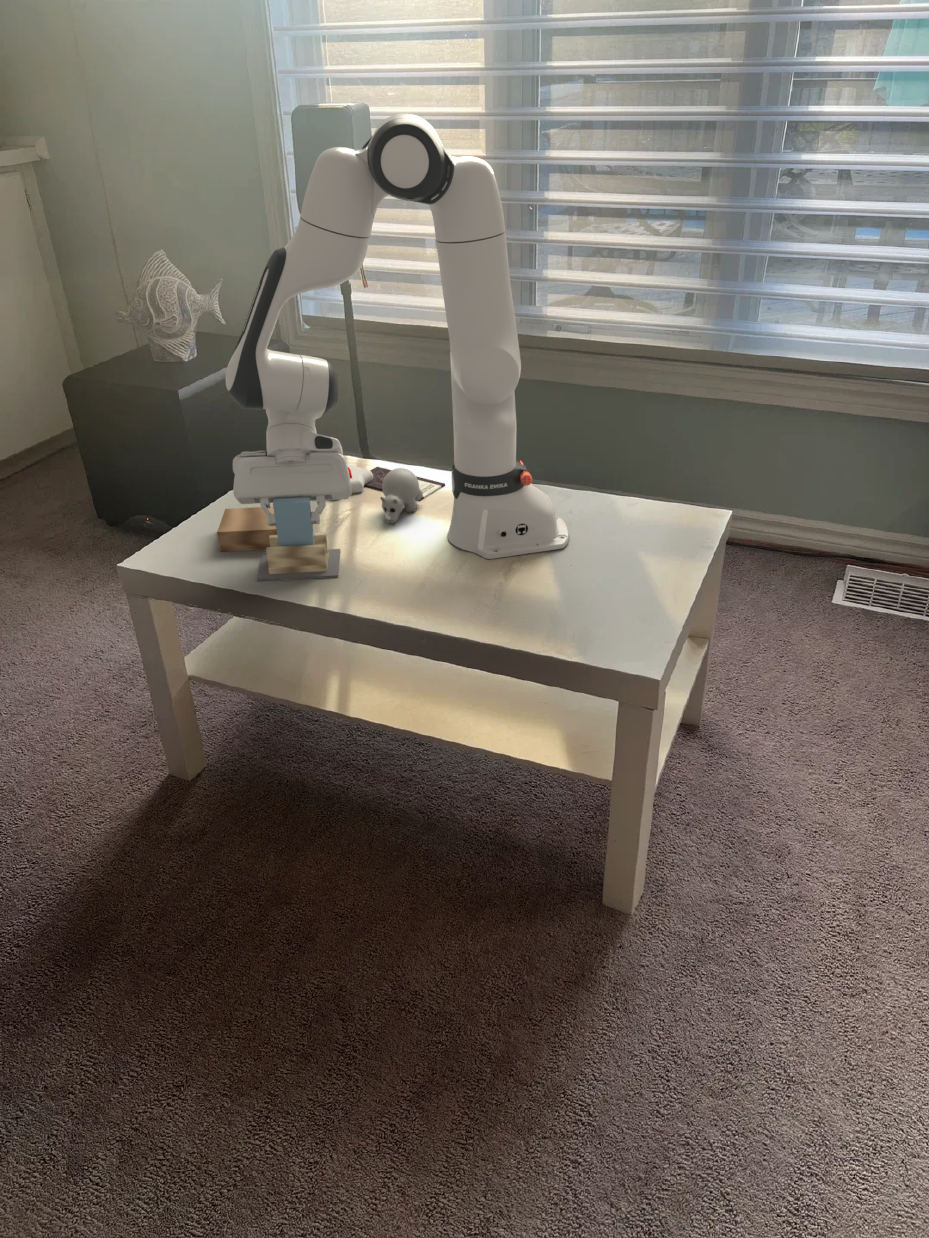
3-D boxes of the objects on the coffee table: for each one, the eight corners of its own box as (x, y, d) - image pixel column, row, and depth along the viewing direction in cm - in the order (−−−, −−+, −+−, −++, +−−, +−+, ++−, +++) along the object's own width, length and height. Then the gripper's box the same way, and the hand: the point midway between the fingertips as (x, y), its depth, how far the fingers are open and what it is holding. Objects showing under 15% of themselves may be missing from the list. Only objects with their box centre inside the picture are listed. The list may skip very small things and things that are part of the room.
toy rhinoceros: (374, 532, 180) (363, 502, 173) (396, 489, 186) (386, 458, 180) (407, 537, 178) (397, 506, 171) (429, 493, 184) (420, 462, 177)
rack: (328, 555, 166) (326, 531, 164) (326, 573, 161) (324, 548, 158) (273, 558, 166) (269, 534, 163) (269, 576, 160) (265, 551, 157)
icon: (341, 484, 184) (305, 473, 189) (343, 504, 186) (307, 493, 191) (380, 465, 192) (345, 455, 197) (382, 484, 194) (347, 473, 199)
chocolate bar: (377, 466, 200) (445, 483, 192) (377, 470, 201) (445, 487, 192) (350, 480, 194) (419, 499, 185) (351, 485, 194) (420, 503, 186)
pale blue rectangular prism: (315, 549, 163) (309, 497, 157) (314, 554, 161) (308, 502, 156) (281, 550, 162) (274, 499, 157) (280, 556, 161) (272, 504, 155)
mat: (340, 550, 168) (340, 548, 168) (337, 577, 159) (337, 575, 159) (263, 554, 167) (263, 552, 167) (256, 581, 159) (256, 579, 158)
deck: (291, 524, 177) (288, 505, 175) (286, 548, 169) (283, 528, 167) (228, 527, 177) (225, 508, 175) (220, 551, 168) (217, 532, 166)
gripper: (228, 444, 158) (229, 521, 155) (348, 439, 159) (350, 515, 156) (236, 459, 164) (236, 533, 161) (351, 454, 165) (353, 527, 162)
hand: (294, 524), depth 158 cm, fingers closed on pale blue rectangular prism, 6 cm apart
